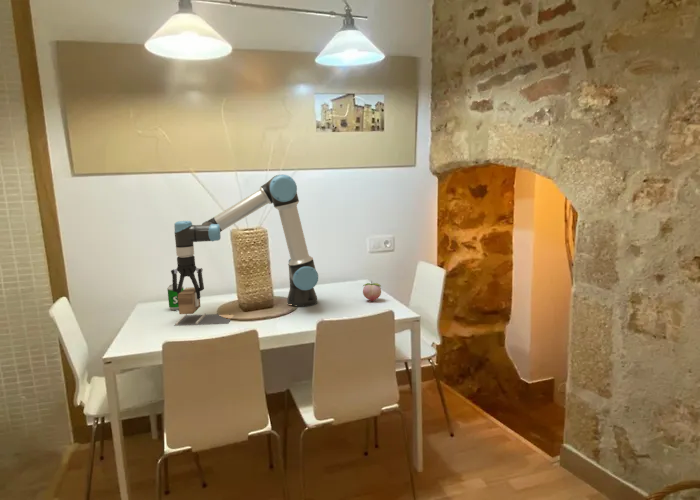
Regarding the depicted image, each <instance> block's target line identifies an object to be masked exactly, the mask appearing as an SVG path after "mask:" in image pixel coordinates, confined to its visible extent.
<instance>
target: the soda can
mask: <svg viewBox="0 0 700 500" xmlns="http://www.w3.org/2000/svg"><path fill="white" fill-rule="evenodd" d="M178 284H179V283H177V289H178ZM184 289H185V288H184V285H182V289H181V290H182V291H183V290H184ZM182 291H181V292H182ZM167 298H168V308H169V309H170V310H172V311H179V304H178V295H177V292H173V283H171V284H169V285H168V286H167Z"/></svg>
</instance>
